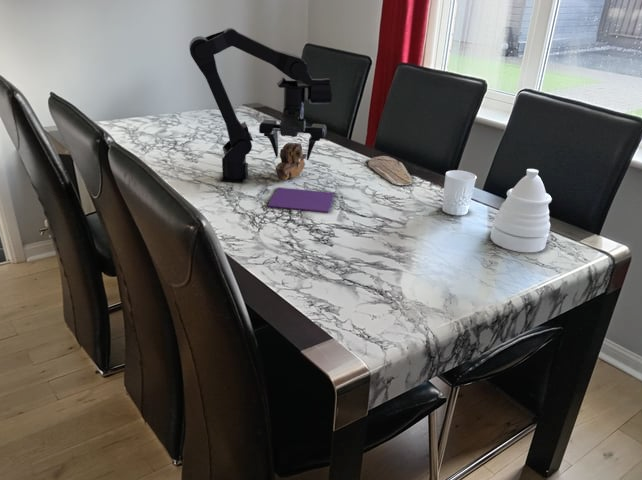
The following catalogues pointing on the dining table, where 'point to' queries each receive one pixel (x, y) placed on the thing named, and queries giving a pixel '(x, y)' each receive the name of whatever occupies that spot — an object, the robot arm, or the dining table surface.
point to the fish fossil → (390, 170)
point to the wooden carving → (290, 161)
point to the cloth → (302, 200)
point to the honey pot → (523, 216)
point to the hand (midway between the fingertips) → (292, 158)
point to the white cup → (458, 192)
